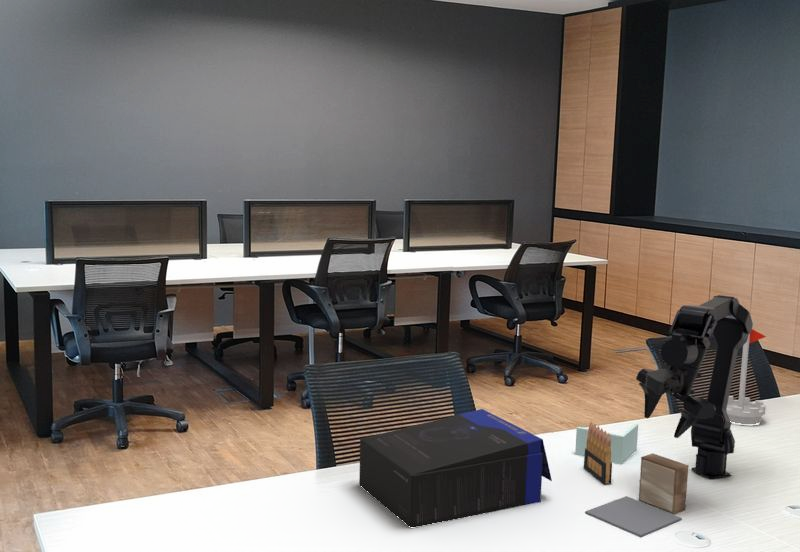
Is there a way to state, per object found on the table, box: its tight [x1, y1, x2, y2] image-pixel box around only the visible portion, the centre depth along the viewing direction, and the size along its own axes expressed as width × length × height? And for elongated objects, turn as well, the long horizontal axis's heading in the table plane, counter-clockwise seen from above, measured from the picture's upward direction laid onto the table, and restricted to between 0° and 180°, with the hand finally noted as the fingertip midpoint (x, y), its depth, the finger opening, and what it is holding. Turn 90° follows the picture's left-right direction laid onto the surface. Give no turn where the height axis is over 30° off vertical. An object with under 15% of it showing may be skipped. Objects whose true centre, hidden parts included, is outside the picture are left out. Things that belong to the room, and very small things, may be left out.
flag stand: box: [726, 319, 767, 424], centre depth 246 cm, size 13×13×30 cm
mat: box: [584, 495, 683, 538], centre depth 180 cm, size 14×14×1 cm
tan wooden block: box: [638, 453, 689, 515], centre depth 185 cm, size 4×9×10 cm, turn 38°
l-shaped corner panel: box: [574, 423, 639, 465], centre depth 218 cm, size 12×12×8 cm
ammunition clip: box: [583, 420, 613, 486], centre depth 201 cm, size 11×2×12 cm, turn 14°
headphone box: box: [358, 408, 553, 528], centre depth 190 cm, size 25×35×14 cm
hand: (660, 427), depth 190 cm, fingers open, 9 cm apart
